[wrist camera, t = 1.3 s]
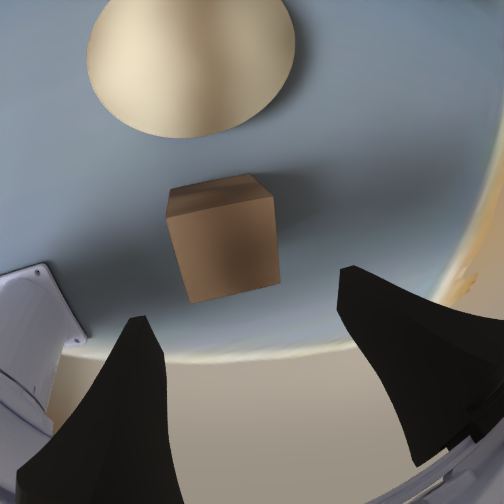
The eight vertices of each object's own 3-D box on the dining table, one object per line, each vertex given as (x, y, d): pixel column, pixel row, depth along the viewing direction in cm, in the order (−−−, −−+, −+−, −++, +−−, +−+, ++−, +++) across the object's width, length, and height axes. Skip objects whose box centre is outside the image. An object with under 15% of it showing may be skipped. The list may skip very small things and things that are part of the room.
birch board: (114, 154, 14) (103, 161, 12) (95, 2, 9) (84, -12, 7) (289, 121, 16) (305, 123, 14) (268, -24, 10) (280, -39, 8)
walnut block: (187, 258, 19) (190, 304, 14) (170, 189, 16) (165, 218, 12) (257, 242, 19) (280, 283, 15) (249, 173, 17) (273, 196, 13)
